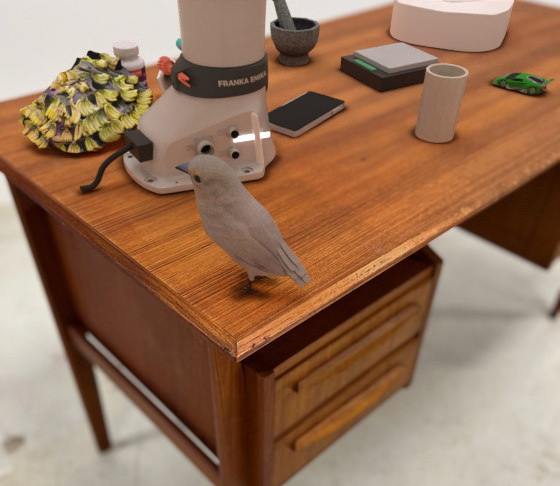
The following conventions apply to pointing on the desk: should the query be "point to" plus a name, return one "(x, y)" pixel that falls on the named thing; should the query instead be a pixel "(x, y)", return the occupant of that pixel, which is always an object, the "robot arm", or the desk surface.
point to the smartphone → (303, 113)
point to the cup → (440, 102)
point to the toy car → (523, 82)
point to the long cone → (164, 80)
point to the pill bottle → (131, 59)
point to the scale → (388, 65)
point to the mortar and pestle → (293, 35)
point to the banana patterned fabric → (87, 106)
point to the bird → (240, 223)
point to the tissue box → (451, 23)
